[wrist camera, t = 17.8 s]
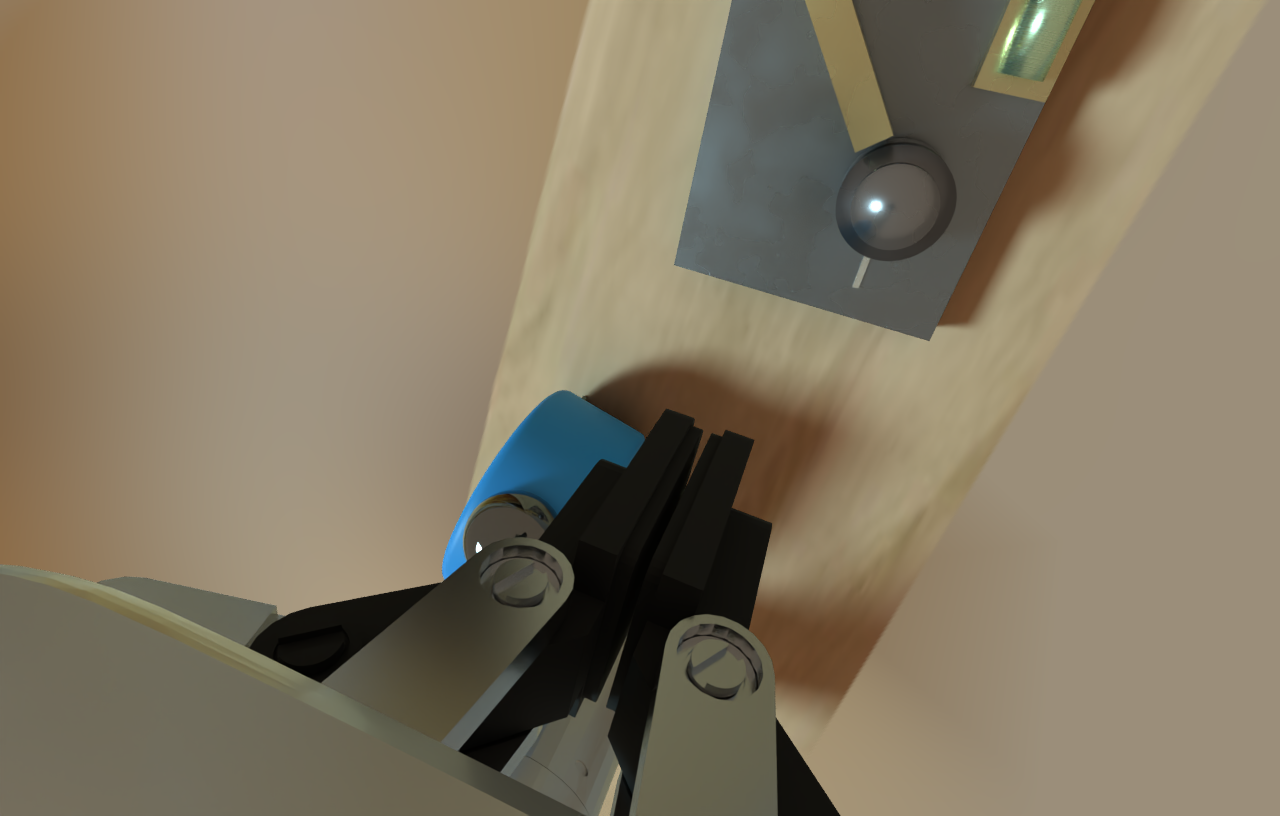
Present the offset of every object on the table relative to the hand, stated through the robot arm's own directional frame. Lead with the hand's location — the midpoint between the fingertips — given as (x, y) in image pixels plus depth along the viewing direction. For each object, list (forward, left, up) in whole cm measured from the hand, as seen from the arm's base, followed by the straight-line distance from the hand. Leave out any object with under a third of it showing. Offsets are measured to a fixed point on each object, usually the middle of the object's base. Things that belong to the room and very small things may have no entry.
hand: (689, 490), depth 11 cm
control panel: (+6, -3, -23) cm, 24 cm away
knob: (+5, -2, -21) cm, 22 cm away
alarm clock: (-14, +15, -23) cm, 31 cm away
